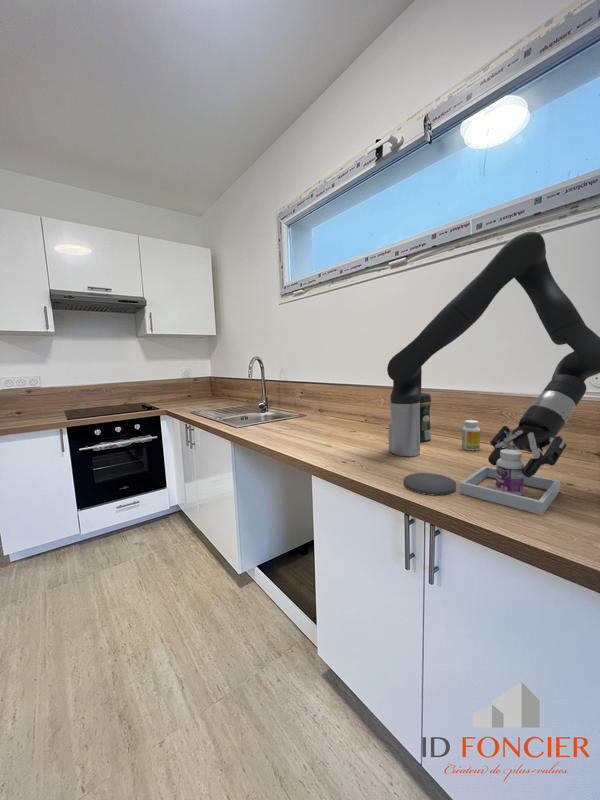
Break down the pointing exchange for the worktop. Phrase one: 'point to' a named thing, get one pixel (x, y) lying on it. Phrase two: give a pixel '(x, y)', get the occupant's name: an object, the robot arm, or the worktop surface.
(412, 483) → the charcoal mat
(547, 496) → the grey tray
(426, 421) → the coffee jar
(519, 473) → the pill bottle
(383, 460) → the worktop surface
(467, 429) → the supplement bottle
